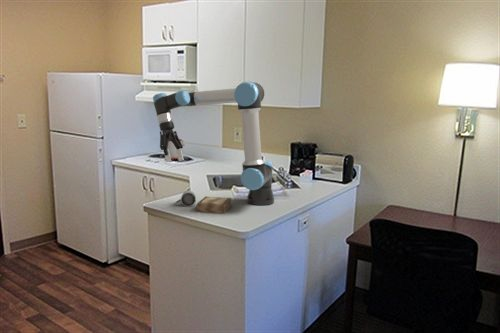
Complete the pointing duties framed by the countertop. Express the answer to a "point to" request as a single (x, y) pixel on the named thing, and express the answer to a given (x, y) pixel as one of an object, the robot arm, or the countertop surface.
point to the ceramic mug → (187, 199)
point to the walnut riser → (214, 205)
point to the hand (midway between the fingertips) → (175, 161)
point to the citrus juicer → (174, 149)
